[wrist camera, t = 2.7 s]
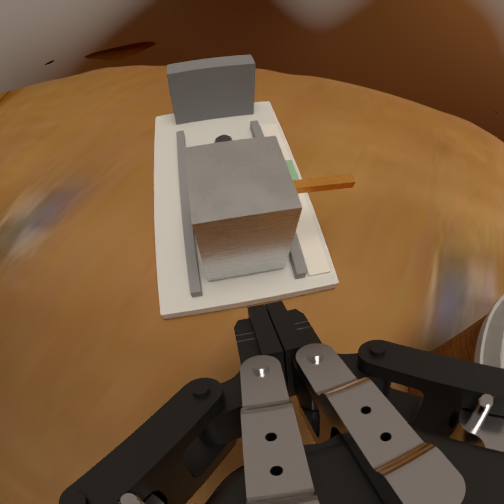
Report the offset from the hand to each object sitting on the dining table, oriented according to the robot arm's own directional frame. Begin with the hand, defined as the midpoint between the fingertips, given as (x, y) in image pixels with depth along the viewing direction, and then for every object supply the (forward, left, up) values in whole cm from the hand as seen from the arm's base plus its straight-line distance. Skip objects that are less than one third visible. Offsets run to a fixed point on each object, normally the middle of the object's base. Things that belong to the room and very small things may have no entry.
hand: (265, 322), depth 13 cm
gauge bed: (0, +16, -10) cm, 19 cm away
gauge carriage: (+3, +11, -8) cm, 14 cm away
